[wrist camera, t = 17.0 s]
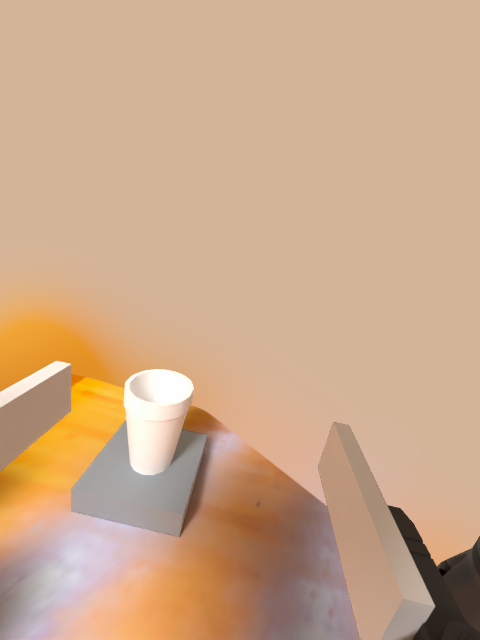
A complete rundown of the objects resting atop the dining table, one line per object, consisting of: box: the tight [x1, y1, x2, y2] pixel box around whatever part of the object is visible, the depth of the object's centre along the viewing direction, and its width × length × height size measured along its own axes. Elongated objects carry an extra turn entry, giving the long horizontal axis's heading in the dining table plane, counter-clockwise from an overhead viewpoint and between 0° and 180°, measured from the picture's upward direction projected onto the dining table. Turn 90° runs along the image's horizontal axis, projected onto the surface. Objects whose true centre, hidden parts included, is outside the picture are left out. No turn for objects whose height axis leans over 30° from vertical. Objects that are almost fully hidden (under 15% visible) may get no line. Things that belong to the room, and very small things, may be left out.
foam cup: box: [124, 369, 194, 475], centre depth 40 cm, size 10×9×13 cm
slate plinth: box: [71, 421, 207, 537], centre depth 42 cm, size 15×15×4 cm
